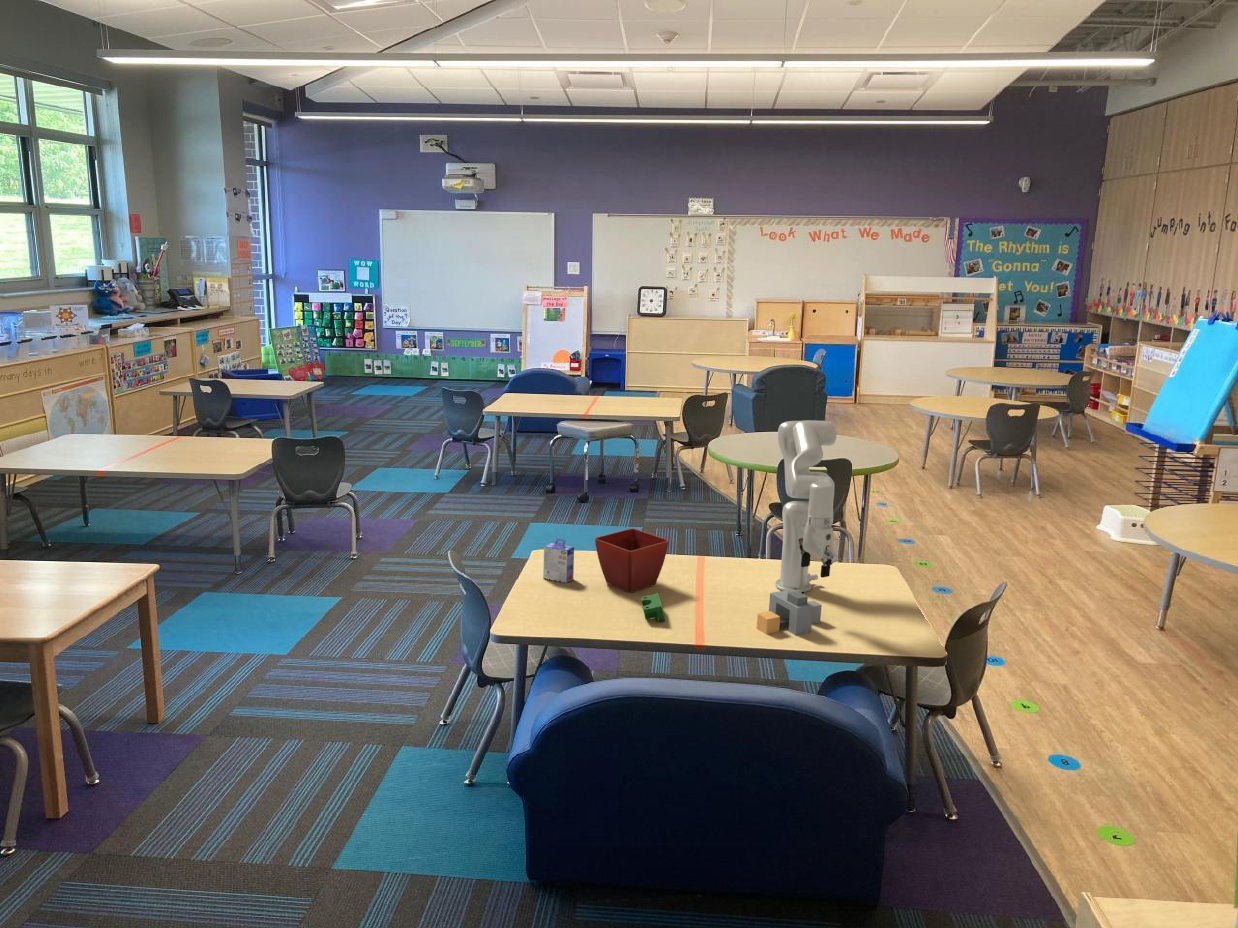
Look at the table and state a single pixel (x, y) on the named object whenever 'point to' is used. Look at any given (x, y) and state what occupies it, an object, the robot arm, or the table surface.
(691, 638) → the table surface
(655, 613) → the clamp
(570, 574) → the ink cartridge box
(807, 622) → the housing
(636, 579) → the plant pot
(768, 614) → the cube-ended rod
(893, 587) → the table surface
